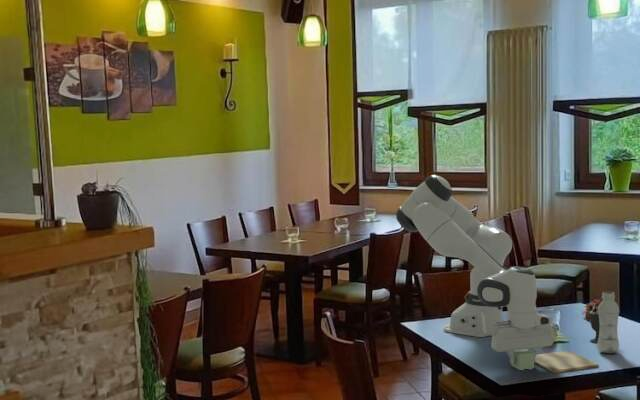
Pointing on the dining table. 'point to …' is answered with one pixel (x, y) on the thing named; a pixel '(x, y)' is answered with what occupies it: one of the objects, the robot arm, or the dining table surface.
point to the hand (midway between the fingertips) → (522, 362)
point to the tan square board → (563, 361)
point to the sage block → (523, 359)
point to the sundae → (594, 321)
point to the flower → (589, 307)
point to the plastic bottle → (608, 324)
